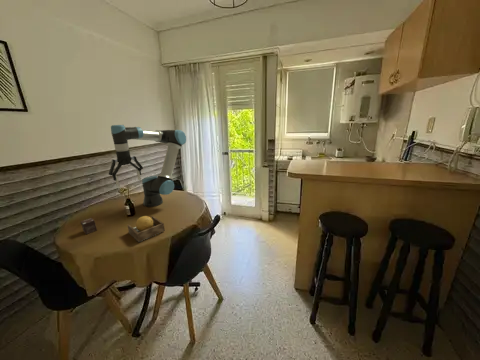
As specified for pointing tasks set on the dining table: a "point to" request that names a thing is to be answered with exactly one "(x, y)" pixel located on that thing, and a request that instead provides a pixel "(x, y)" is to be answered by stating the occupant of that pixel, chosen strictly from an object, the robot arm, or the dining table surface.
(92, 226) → the box
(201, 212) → the dining table surface
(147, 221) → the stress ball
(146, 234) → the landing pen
